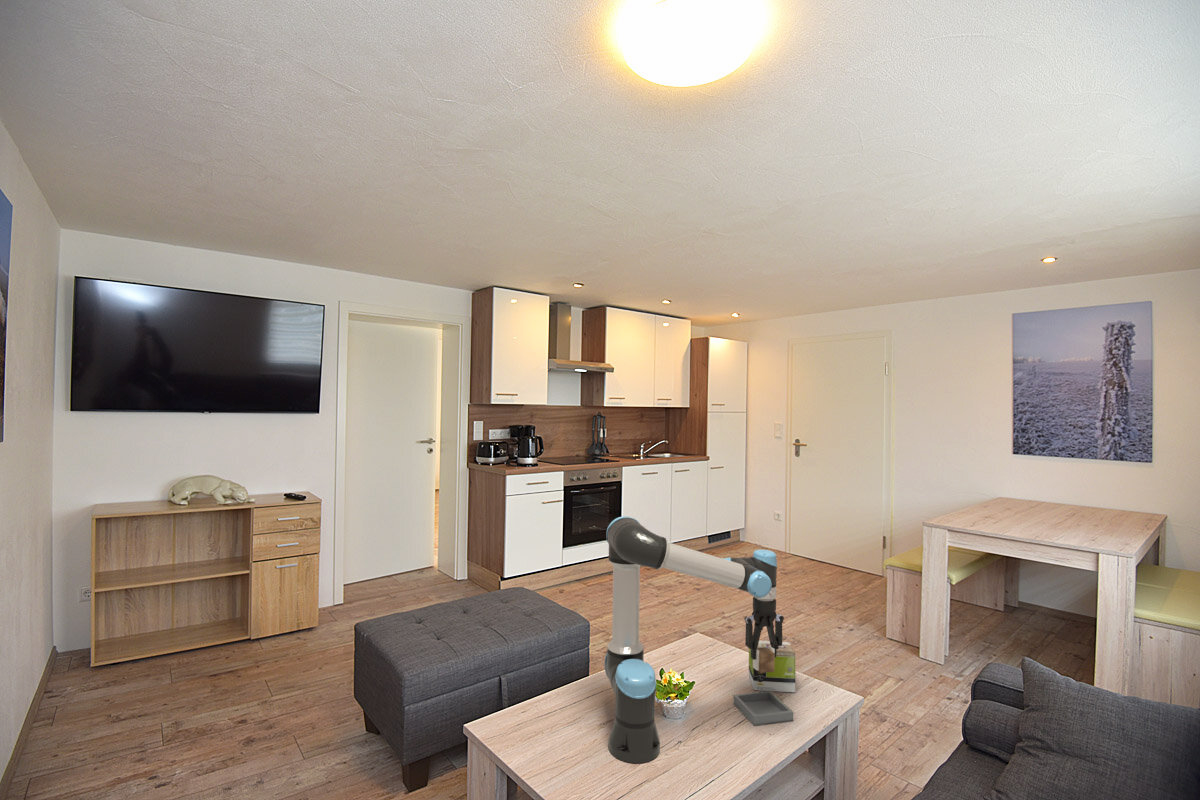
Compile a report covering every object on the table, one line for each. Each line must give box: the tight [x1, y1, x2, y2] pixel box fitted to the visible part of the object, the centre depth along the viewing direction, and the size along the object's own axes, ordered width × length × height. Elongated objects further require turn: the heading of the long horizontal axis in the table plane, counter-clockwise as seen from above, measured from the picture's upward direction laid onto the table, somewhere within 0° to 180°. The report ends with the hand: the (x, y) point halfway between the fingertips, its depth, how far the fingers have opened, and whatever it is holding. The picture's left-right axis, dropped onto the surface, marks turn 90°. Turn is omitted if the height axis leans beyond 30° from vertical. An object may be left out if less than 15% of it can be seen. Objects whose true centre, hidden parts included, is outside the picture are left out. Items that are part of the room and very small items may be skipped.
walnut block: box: [757, 647, 775, 673], centre depth 186 cm, size 5×5×6 cm
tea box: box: [748, 639, 797, 693], centre depth 205 cm, size 15×10×15 cm
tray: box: [732, 690, 794, 727], centre depth 186 cm, size 14×14×3 cm
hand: (763, 667), depth 186 cm, fingers closed on walnut block, 5 cm apart
